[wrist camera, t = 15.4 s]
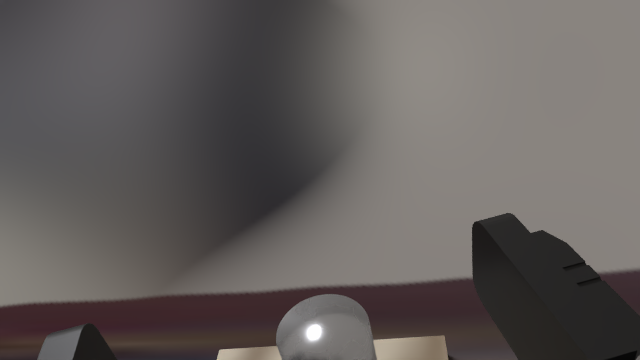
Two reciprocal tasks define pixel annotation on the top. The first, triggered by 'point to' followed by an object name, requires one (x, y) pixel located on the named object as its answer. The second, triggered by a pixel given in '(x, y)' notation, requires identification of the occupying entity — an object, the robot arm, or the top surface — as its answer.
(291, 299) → the top surface
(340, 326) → the grey cylinder
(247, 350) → the mounting board
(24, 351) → the top surface
